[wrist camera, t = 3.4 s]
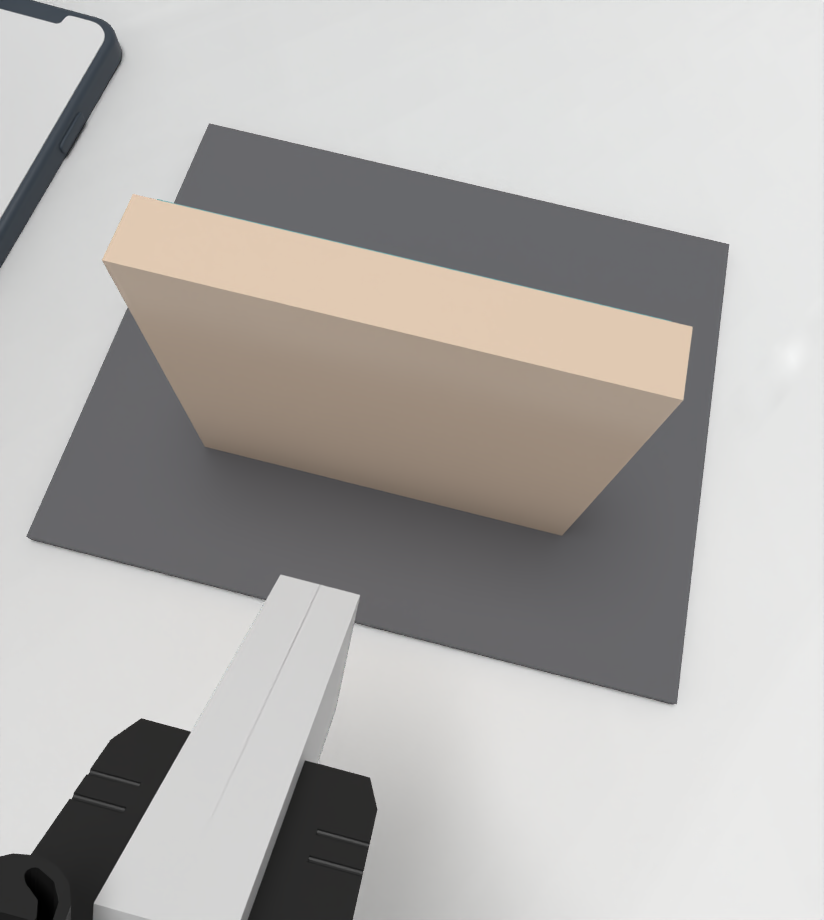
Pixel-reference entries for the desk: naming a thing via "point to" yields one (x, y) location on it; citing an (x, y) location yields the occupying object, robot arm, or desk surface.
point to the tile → (394, 365)
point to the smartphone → (44, 98)
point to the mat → (393, 516)
